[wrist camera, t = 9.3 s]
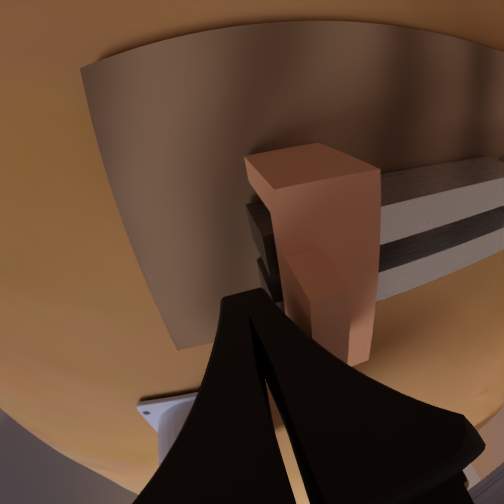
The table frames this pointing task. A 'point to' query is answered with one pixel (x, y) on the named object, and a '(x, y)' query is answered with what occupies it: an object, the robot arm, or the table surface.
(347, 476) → the robot arm
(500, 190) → the tongs arm
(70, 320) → the table surface
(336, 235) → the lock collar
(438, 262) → the base
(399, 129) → the walnut board
